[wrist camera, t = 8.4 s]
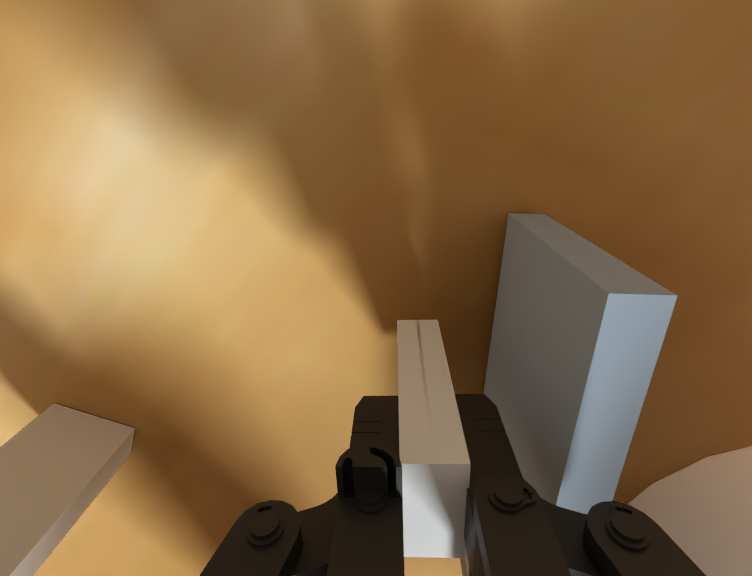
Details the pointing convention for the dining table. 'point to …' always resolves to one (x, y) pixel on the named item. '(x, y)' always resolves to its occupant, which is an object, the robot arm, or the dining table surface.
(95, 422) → the wall stub
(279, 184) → the dining table surface
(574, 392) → the door
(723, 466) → the canister
